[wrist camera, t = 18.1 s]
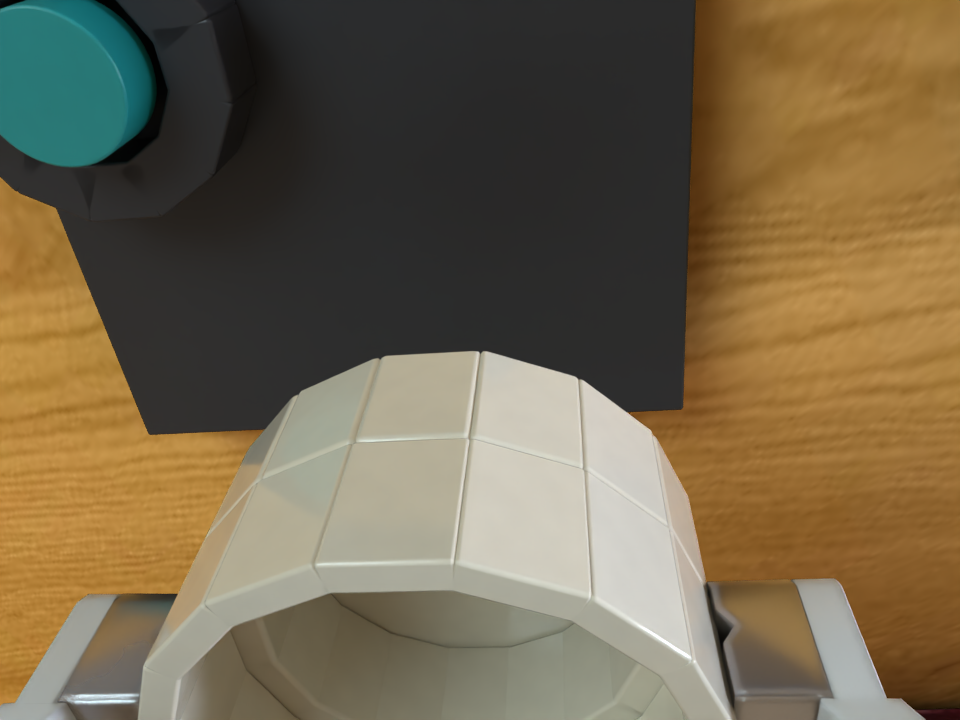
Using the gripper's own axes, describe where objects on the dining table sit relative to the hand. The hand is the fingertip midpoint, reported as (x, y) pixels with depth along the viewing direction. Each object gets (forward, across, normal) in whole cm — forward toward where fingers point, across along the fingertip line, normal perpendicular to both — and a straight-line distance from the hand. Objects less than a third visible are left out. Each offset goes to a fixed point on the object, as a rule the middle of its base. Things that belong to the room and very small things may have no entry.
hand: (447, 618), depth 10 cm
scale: (+12, +3, -2) cm, 12 cm away
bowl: (+2, 0, 0) cm, 2 cm away
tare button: (+8, +7, -6) cm, 12 cm away
